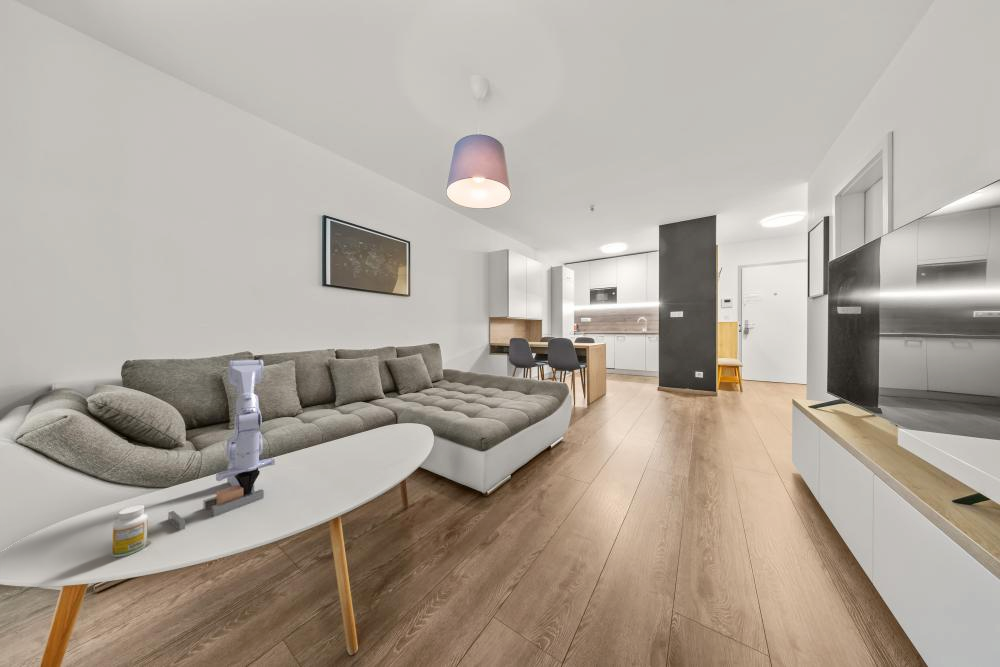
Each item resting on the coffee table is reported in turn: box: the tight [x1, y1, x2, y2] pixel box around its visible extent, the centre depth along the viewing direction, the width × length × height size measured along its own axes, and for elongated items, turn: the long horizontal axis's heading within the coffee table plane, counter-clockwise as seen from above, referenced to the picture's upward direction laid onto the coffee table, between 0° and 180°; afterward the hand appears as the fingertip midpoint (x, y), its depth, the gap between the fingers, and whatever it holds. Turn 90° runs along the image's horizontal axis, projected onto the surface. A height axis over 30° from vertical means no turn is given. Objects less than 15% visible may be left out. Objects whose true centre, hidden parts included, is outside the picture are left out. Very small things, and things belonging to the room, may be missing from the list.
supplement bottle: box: [111, 504, 149, 558], centre depth 74 cm, size 5×5×10 cm
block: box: [216, 485, 244, 505], centre depth 93 cm, size 4×5×4 cm
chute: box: [167, 484, 265, 532], centre depth 92 cm, size 10×22×4 cm, turn 149°
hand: (246, 495), depth 96 cm, fingers closed
